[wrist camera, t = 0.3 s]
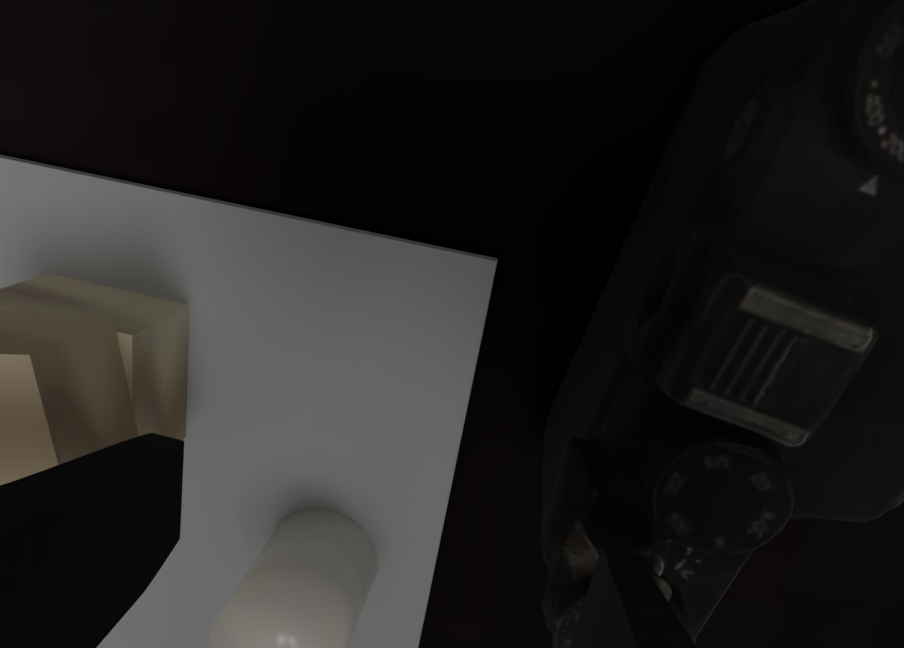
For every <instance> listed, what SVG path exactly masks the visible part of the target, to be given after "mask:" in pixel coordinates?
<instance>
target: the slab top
mask: <svg viewBox="0 0 904 648" xmlns="http://www.w3.org/2000/svg"><path fill="white" fill-rule="evenodd" d="M138 436H139V435H138V430H137V426H136V421H135V416H134V412H133V407H132V402H131V398H130V393H129V388H128V384H127V379H126V374H125V369H124V365H123V360H122V355H121V351H120V346H119V341H118V337H117V332H116V327H115V323H114V318H113V316H90V315H30V314H0V485H3V484H6V483H9V482H12V481H15V480H18V479H21V478H24V477H27V476H29V475H32V474H35V473H38V472H40V471H43V470H46V469H49V468H51V467H54V466H57V465H60V464H62V463H65V462H68V461H71V460H73V459H76V458H79V457H82V456H84V455H87V454H90V453H92V452H95V451H98V450H101V449H103V448H106V447H109V446H112V445H114V444H117V443H120V442H123V441H126V440H129V439H132V438H135V437H138Z"/></svg>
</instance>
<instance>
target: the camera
mask: <svg viewBox="0 0 904 648" xmlns="http://www.w3.org/2000/svg"><path fill="white" fill-rule="evenodd" d="M543 438H544V450H543V500H542V527H541V542H542V554H543V559H544V561H545V563H546V565H547V567H548V583H547V587H546V590H545V594H544V598H543V602H542V606H543V611H544V615H545V620H546V625H547V628H548V629H549V631H550V632H551V636H552V644H553V648H571V642H572V639H573V635H574V632H575V629H576V626H577V623H578V620H579V617H580V613H581V610H582V607H583V604H584V601H585V598H586V595H587V592H588V588H589V585H590V582H591V579H592V576H593V573H594V570H595V566H596V563H597V560H598V557H599V554H600V551H601V548H602V546H604V547H608V548H612V549H616V550H620V551H624V552H628V553H632V554H636V555H640V557H641V558H642V560H643V561H644V563H645V565H646V566H647V568H648V570H649V571H650V573H651V575H652V576H653V578H654V579H655V581H656V583H657V584H658V586H659V588H660V589H661V591H662V593H663V594H664V596H665V598H666V599H667V601H668V603H669V604H670V606H671V607H672V609H673V611H674V612H675V614H676V616H677V617H678V619H679V620H680V622H681V624H682V625H683V627H684V628H685V630H686V632H687V633H688V635H689V636H690V638H691V639H692V641H693V643H694V644H695V645H696V639H695V638H696V637H697V635H698V634H699V632H700V631H701V629H702V628H703V626H704V625H705V623H706V622H707V620H708V618H709V617H710V615H711V614H712V612H713V610H714V609H715V607H716V605H717V604H718V602H719V601H720V599H721V598H722V596H723V595H724V593H725V592H726V590H727V589H728V587H729V586H730V584H731V583H732V581H733V580H734V578H735V577H736V575H737V574H738V572H739V571H740V569H741V568H742V566H743V565H744V564H745V562H746V561H747V559H748V558H749V557H750V555H751V554H752V552H753V551H754V550H755V549H756V548H758V547H760V546H762V545H764V544H766V543H767V542H768V541H769V540H771V539H772V538H773V537H774V536H775V535H777V534H778V533H779V532H780V531H781V530H782V529H783V528H784V526H785V525H786V523H787V521H788V520H789V519H803V518H817V519H829V520H841V521H851V522H862V523H865V522H868V521H870V520H872V519H874V518H877V517H879V516H881V515H883V514H884V513H885V512H887V511H888V510H891V509H893V508H895V507H898V506H899V505H900V504H901V503H902V502H903V501H904V0H809V1H807V2H804V3H802V4H800V5H797V6H795V7H793V8H790V9H788V10H786V11H783V12H781V13H778V14H776V15H773V16H771V17H768V18H765V19H762V20H759V21H756V22H753V23H749V24H747V25H746V26H744V27H742V28H740V29H738V30H737V31H736V32H735V33H734V34H732V35H731V36H730V37H729V38H727V39H725V40H724V41H723V42H722V43H721V44H720V45H719V46H718V47H717V48H716V49H715V50H714V51H713V52H712V53H711V54H710V55H709V56H708V57H707V58H706V59H705V61H704V63H703V66H702V68H701V71H700V73H699V75H698V78H697V81H696V84H695V86H694V89H693V92H692V93H691V95H690V96H689V98H688V99H687V101H686V103H685V105H684V108H683V110H682V112H681V114H680V117H679V119H678V121H677V124H676V126H675V128H674V131H673V133H672V135H671V138H670V140H669V142H668V145H667V147H666V149H665V152H664V154H663V157H662V159H661V161H660V164H659V166H658V168H657V170H656V172H655V174H654V176H653V179H652V181H651V183H650V186H649V188H648V191H647V193H646V195H645V198H644V200H643V203H642V205H641V207H640V210H639V212H638V214H637V217H636V219H635V221H634V223H633V225H632V227H631V229H630V231H629V233H628V235H627V237H626V239H625V241H624V243H623V245H622V247H621V249H620V252H619V255H618V257H617V260H616V263H615V265H614V268H613V271H612V273H611V275H610V277H609V280H608V282H607V284H606V286H605V288H604V290H603V292H602V294H601V296H600V298H599V300H598V302H597V304H596V306H595V309H594V311H593V313H592V316H591V318H590V321H589V323H588V325H587V328H586V330H585V333H584V335H583V337H582V340H581V342H580V344H579V346H578V349H577V351H576V353H575V355H574V357H573V358H572V360H571V362H570V364H569V367H568V369H567V372H566V374H565V377H564V379H563V380H562V382H561V384H560V387H559V389H558V392H557V394H556V396H555V399H554V401H553V403H552V405H551V408H550V411H549V414H548V417H547V423H546V427H545V430H544V434H543Z"/></svg>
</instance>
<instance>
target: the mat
mask: <svg viewBox="0 0 904 648" xmlns="http://www.w3.org/2000/svg"><path fill="white" fill-rule="evenodd" d="M497 262H498V258H493V257H488V256H483V255H479V254H474V253H469V252H464V251H459V250H455V249H450V248H445V247H440V246H435V245H431V244H426V243H421V242H416V241H412V240H407V239H402V238H397V237H392V236H388V235H383V234H378V233H373V232H369V231H364V230H359V229H354V228H349V227H345V226H340V225H335V224H330V223H325V222H321V221H316V220H311V219H306V218H302V217H297V216H292V215H287V214H282V213H278V212H273V211H268V210H263V209H258V208H254V207H249V206H244V205H239V204H235V203H230V202H225V201H220V200H215V199H211V198H206V197H201V196H196V195H191V194H187V193H182V192H177V191H172V190H168V189H163V188H158V187H153V186H148V185H144V184H139V183H134V182H129V181H124V180H120V179H115V178H110V177H105V176H101V175H96V174H91V173H86V172H81V171H77V170H72V169H67V168H62V167H57V166H53V165H48V164H43V163H38V162H34V161H29V160H24V159H19V158H14V157H10V156H5V155H0V289H1V288H4V287H7V286H10V285H13V284H17V283H20V282H23V281H26V280H29V279H32V278H35V277H38V276H41V275H44V274H48V273H51V274H56V275H60V276H65V277H69V278H74V279H78V280H82V281H87V282H91V283H96V284H100V285H105V286H109V287H114V288H118V289H122V290H127V291H131V292H136V293H140V294H145V295H149V296H153V297H158V298H162V299H167V300H171V301H176V302H180V303H184V304H189V305H190V319H189V350H188V381H187V411H186V437H185V438H184V439H183V441H184V461H183V483H182V506H181V529H180V539H179V541H178V543H177V544H176V546H175V547H174V549H173V550H172V552H171V553H170V555H169V556H168V558H167V559H166V561H165V563H164V564H163V566H162V567H161V569H160V570H159V572H158V573H157V574H156V576H155V577H154V579H153V580H152V582H151V583H150V584H149V586H148V587H147V589H146V590H145V591H144V593H143V594H142V595H141V596H140V597H139V599H138V600H137V601H136V602H135V603H134V605H133V606H132V607H131V608H130V609H129V610H128V612H127V613H126V614H125V615H124V616H123V617H122V619H121V620H120V621H119V622H118V623H117V624H116V626H115V627H114V628H113V629H112V630H111V631H110V633H109V634H108V635H107V636H106V637H105V638H104V639H103V641H102V642H101V643H100V644H99V645H98V646H97V647H96V648H210V640H209V637H210V630H211V627H212V624H213V623H214V621H215V619H216V617H217V616H218V614H219V613H220V611H221V610H222V608H223V607H224V606H225V604H226V603H227V601H228V600H229V598H230V597H231V595H232V594H233V592H234V591H235V589H236V588H237V586H238V585H239V583H240V582H241V580H242V579H243V577H244V576H245V574H246V573H247V571H248V570H249V568H250V567H251V565H252V564H253V562H254V561H255V559H256V558H257V556H258V555H259V553H260V552H261V550H262V549H263V547H264V546H265V544H266V543H267V541H268V540H269V538H270V537H271V535H272V534H273V532H274V531H275V529H276V528H277V526H278V525H279V524H280V522H281V521H282V520H283V519H284V518H285V517H287V516H288V515H290V514H292V513H294V512H296V511H299V510H302V509H308V508H323V509H328V510H332V511H336V512H338V513H341V514H343V515H345V516H347V517H349V518H350V519H352V520H353V521H355V522H356V523H357V524H358V525H360V526H361V527H362V528H363V529H364V531H365V532H366V533H367V534H368V536H369V537H370V538H371V540H372V542H373V544H374V546H375V549H376V552H377V557H378V568H377V573H376V576H375V578H374V581H373V584H372V586H371V589H370V591H369V594H368V596H367V599H366V602H365V604H364V607H363V609H362V612H361V614H360V617H359V620H358V622H357V625H356V627H355V630H354V632H353V635H352V638H351V640H350V643H349V645H348V648H418V647H419V642H420V637H421V632H422V628H423V623H424V618H425V613H426V608H427V603H428V598H429V593H430V589H431V584H432V579H433V574H434V569H435V564H436V559H437V554H438V550H439V545H440V540H441V535H442V530H443V525H444V520H445V515H446V511H447V506H448V501H449V496H450V491H451V486H452V481H453V476H454V472H455V467H456V462H457V457H458V452H459V447H460V442H461V437H462V433H463V428H464V423H465V418H466V413H467V408H468V403H469V398H470V394H471V389H472V384H473V379H474V374H475V369H476V364H477V359H478V355H479V350H480V345H481V340H482V335H483V330H484V325H485V321H486V316H487V311H488V306H489V301H490V296H491V291H492V286H493V282H494V277H495V272H496V267H497Z"/></svg>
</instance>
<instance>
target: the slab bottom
mask: <svg viewBox="0 0 904 648" xmlns="http://www.w3.org/2000/svg"><path fill="white" fill-rule="evenodd" d="M0 314H30V315H90V316H113V318H114V323H115V327H116V332H117V337H118V341H119V346H120V351H121V355H122V360H123V365H124V369H125V374H126V379H127V384H128V388H129V393H130V398H131V402H132V407H133V412H134V416H135V421H136V426H137V430H138V435H139V436H141V435H145V434H148V433H155V434H159V435H163V436H167V437H171V438H175V439H179V440H183V439H184V438H185V437H186V411H187V381H188V350H189V319H190V305H189V304H184V303H180V302H176V301H171V300H167V299H162V298H158V297H153V296H149V295H145V294H140V293H136V292H131V291H127V290H122V289H118V288H114V287H109V286H105V285H100V284H96V283H91V282H87V281H82V280H78V279H74V278H69V277H65V276H60V275H56V274H51V273H48V274H44V275H41V276H38V277H35V278H32V279H29V280H26V281H23V282H20V283H17V284H13V285H10V286H7V287H4V288H1V289H0Z"/></svg>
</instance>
